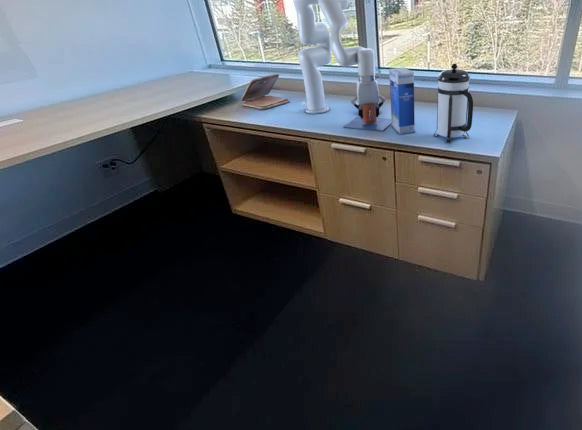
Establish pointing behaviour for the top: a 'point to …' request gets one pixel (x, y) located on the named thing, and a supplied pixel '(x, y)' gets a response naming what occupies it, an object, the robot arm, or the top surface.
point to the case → (262, 93)
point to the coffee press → (454, 103)
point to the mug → (369, 113)
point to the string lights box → (402, 99)
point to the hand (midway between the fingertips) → (369, 116)
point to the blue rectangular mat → (377, 126)
